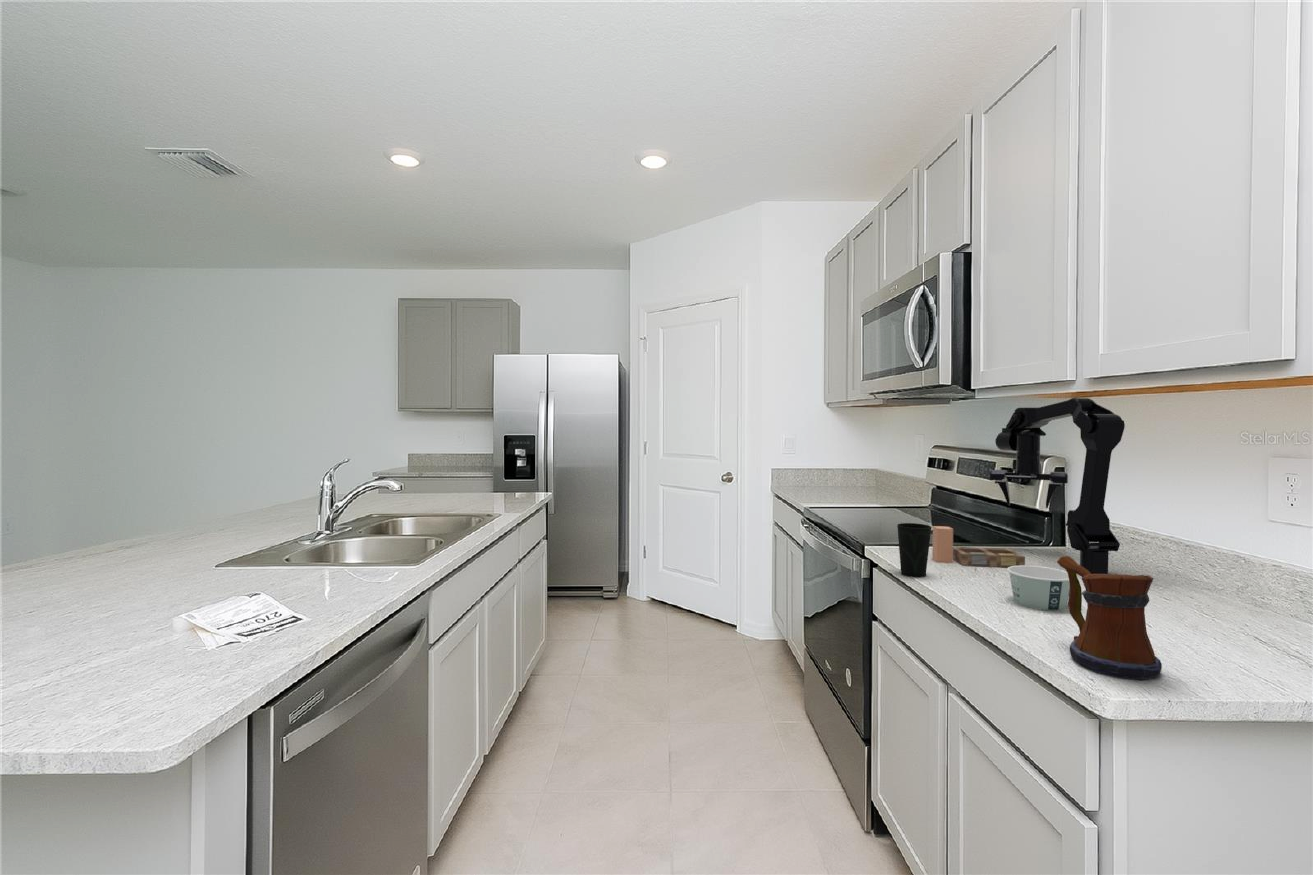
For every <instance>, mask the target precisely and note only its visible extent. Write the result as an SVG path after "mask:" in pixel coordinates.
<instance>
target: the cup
mask: <svg viewBox="0 0 1313 875" xmlns="http://www.w3.org/2000/svg"><path fill="white" fill-rule="evenodd" d="M896 527H897V538H898V551H899V552H898V553H899V562H900V574H901V575H902V576H905V577H910V578H911V577H912V578H924V577H926V575H927V567H928V560H929V550H930V542H931V533H932V526H930V525H929V524H923V523H914V522H913V523H911V522H902V523H901V522H900V523H898V524H897V525H896Z"/></svg>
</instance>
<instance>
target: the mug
mask: <svg viewBox="0 0 1313 875" xmlns="http://www.w3.org/2000/svg"><path fill="white" fill-rule="evenodd" d="M1056 562H1057V564H1058V565H1059V566H1060V567H1061V568H1063V569H1064V571H1066V572H1067V573H1068V577H1069V583H1070V592H1069V598H1068V602H1067V606H1068V612H1069V614H1070V617H1071V618H1072V619H1073V621H1074V622H1075V623H1076V625H1077V627H1078V629H1079V630H1078V632H1079V633H1078V635H1074V636H1073V640H1072V642H1071V643H1070V645H1069V653H1070V657H1071V658H1072V659H1073V660H1074V661H1075V662H1077V663H1079V665H1081V666H1083V667H1085V668H1087V669H1089V670H1091V671H1093V672H1095V673H1096V674H1097V673H1098V674H1103V675H1107V676H1109V677H1110V676H1111V677H1115V678H1120V679H1121V678H1122V679H1127V680H1136V681H1144V680H1150V679H1151V680H1152V679H1155V678H1156V679H1157V677H1158V676H1159V675H1160V674H1161V672H1162V669H1163V665H1162V664H1163V663H1162V661H1161V660H1160V658H1158V657H1157V656H1156V654H1155V651H1154V648H1153V646H1152V643H1151V640H1150V637H1149V635H1148V632H1147V624H1146V614H1145V610H1146V609H1145V607H1147V606H1148V604H1149V602H1150V598H1149V597H1150V596H1149V594H1148V593H1149V591H1150V588H1151V585H1152V583H1153V581H1154V579H1155V578H1154V577H1152V576H1151V575H1145V574H1138V575H1137V574H1136V575H1133V574H1122V573H1121V574H1118V573H1109V574H1091V573H1090V572H1089V571H1088V570H1087V569H1085V568H1084V567H1082V566H1080V564H1079V563H1077V562H1076V561H1075V560H1074V559H1073V558H1072V557H1070V556H1069V555H1065V556H1060V557H1059V559H1058V560H1057V561H1056ZM1077 575H1078V576H1079V577H1081V578H1080V579H1081V581H1082V583H1083V585H1084V589H1085V590H1083V591H1082V585H1081V583H1080V580H1079V579H1078V578H1079V577H1078V576H1077ZM1082 598H1083V599H1084V601H1085V602H1086V605H1087V609H1086V612H1085V614H1086V615H1085V618H1084V616H1083V613H1082V602H1083V599H1082Z"/></svg>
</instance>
